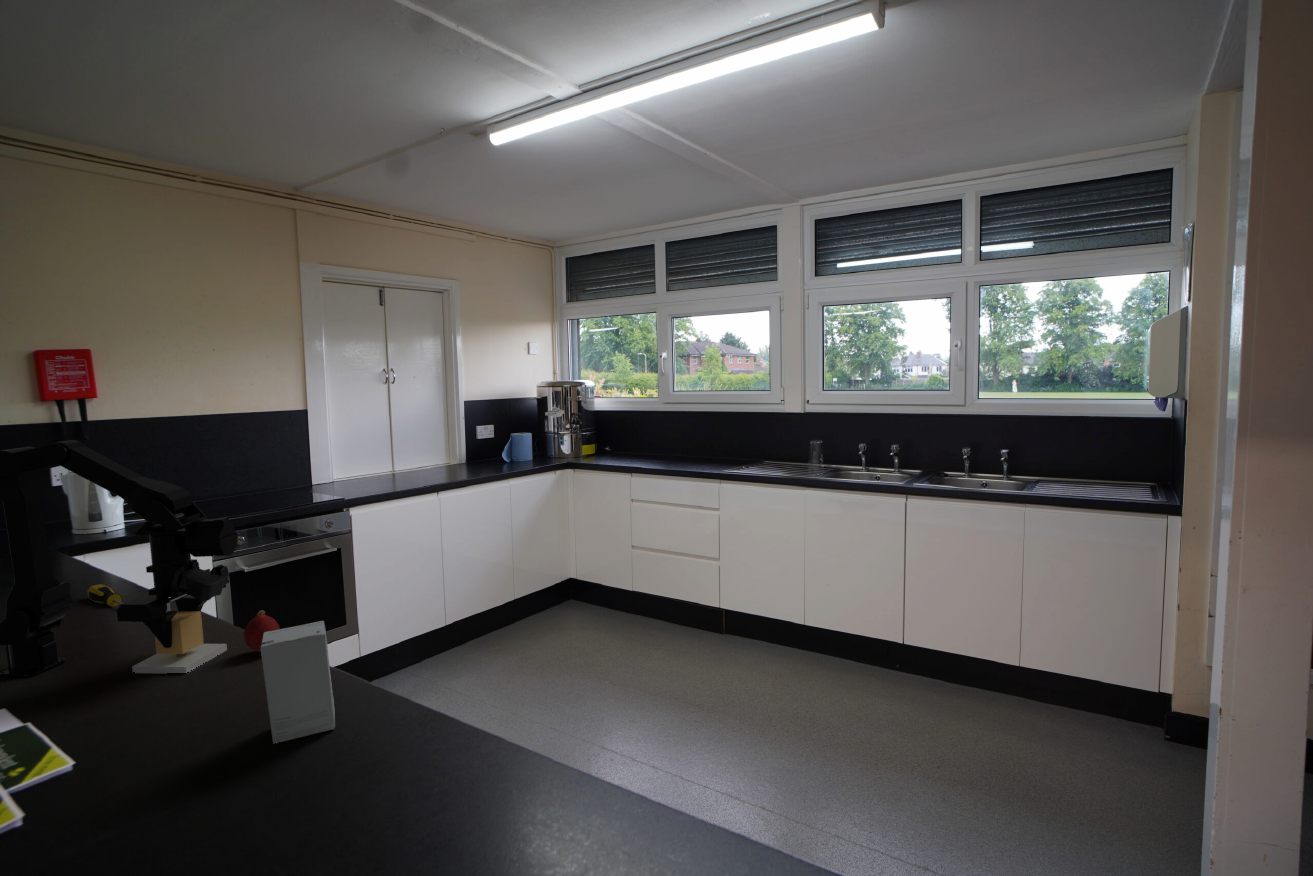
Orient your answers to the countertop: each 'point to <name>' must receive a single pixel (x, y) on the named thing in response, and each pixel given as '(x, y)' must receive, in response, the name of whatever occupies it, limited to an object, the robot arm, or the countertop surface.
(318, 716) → the skincare box
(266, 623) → the onion
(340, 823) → the countertop surface
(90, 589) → the screwdriver
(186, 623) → the cardboard carton
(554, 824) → the countertop surface
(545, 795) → the countertop surface
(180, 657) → the post plate
